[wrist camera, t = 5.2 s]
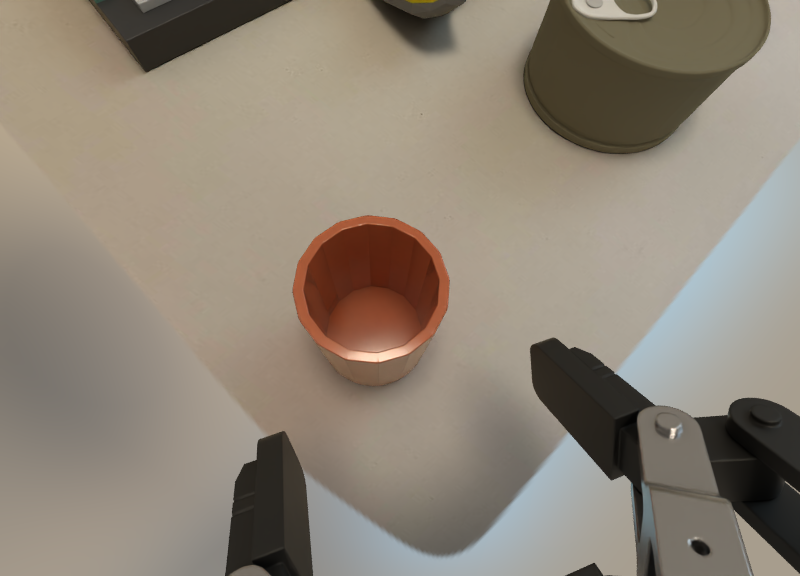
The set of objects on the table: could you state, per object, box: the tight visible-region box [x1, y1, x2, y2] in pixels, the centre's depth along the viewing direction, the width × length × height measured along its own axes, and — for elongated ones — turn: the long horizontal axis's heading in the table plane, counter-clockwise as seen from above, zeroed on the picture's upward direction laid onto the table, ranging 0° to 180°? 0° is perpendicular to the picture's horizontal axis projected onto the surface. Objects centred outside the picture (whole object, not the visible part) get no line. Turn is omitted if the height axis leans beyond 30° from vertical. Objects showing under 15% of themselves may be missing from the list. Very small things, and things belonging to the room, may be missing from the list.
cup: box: [293, 215, 450, 386], centre depth 19 cm, size 6×6×8 cm
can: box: [524, 0, 771, 153], centre depth 26 cm, size 12×12×7 cm
